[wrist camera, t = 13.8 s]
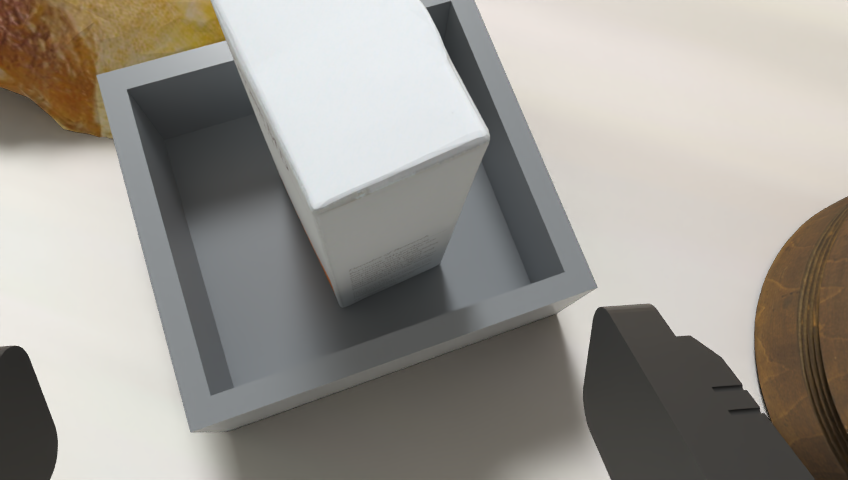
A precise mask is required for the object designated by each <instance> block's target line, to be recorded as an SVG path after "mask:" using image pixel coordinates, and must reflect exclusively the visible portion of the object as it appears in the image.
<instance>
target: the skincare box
mask: <svg viewBox="0 0 848 480" xmlns="http://www.w3.org/2000/svg"><path fill="white" fill-rule="evenodd" d="M210 1H211V3H212V6H213V8H214V11H215V13H216V16H217V19H218V21H219V24H220V26H221V29H222V31H223V34H224V36H225V39H226V41H227V44H228V47H229V49H230V52H231V54H232V57H233V59H234V62H235V64H236V67H237V69H238V72H239V74H240V77H241V79H242V82H243V85H244V87H245V90H246V92H247V95H248V97H249V100H250V102H251V105H252V107H253V110H254V112H255V115H256V117H257V120H258V123H259V125H260V128H261V130H262V133H263V135H264V138H265V140H266V143H267V145H268V148H269V150H270V152H271V155H272V157H273V160H274V162H275V165H276V167H277V170H278V172H279V175H280V177H281V179H282V181H283V184H284V186H285V188H286V190H287V193H288V195H289V197H290V199H291V202H292V204H293V206H294V208H295V210H296V213H297V215H298V217H299V219H300V221H301V223H302V225H303V228H304V230H305V232H306V234H307V236H308V238H309V240H310V243H311V245H312V247H313V249H314V251H315V253H316V255H317V257H318V259H319V262H320V264H321V266H322V268H323V270H324V272H325V274H326V276H327V279H328V281H329V283H330V285H331V287H332V289H333V291H334V294H335V296H336V298H337V300H338V303H339V305H340V307H342V308H343V307H347V306H350V305H352V304H354V303H356V302H358V301H360V300H362V299H364V298H366V297H368V296H371V295H373V294H375V293H377V292H380V291H382V290H384V289H387V288H389V287H391V286H393V285H396V284H398V283H400V282H402V281H405V280H407V279H409V278H411V277H413V276H416V275H418V274H420V273H422V272H424V271H427V270H429V269H431V268H433V267H436V266H437V265H439V264H440V263H441V260H442V258H443V255H444V253H445V250H446V248H447V245H448V243H449V240H450V238H451V235H452V233H453V230H454V228H455V225H456V222H457V220H458V217H459V215H460V213H461V210H462V207H463V204H464V202H465V200H466V197H467V195H468V192H469V190H470V187H471V185H472V182H473V180H474V177H475V175H476V172H477V170H478V168H479V165H480V163H481V161H482V158H483V156H484V154H485V151H486V149H487V147H488V145H489V141H490V134H489V130H488V128H487V126H486V124H485V122H484V121H483V119H482V117H481V115H480V113H479V111H478V109H477V108H476V106H475V104H474V102H473V100H472V98H471V97H470V95H469V93H468V91H467V89H466V87H465V85H464V84H463V82H462V80H461V78H460V76H459V74H458V72H457V71H456V69H455V67H454V65H453V63H452V61H451V59H450V57H449V55H448V53H447V51H446V49H445V46H444V44H443V41H442V39H441V36H440V34H439V32H438V30H437V28H436V26H435V24H434V22H433V20H432V18H431V16H430V14H429V12H428V10H427V9H426V8H425V6H424V5H423V3H422V2H421V1H420V0H210Z"/></svg>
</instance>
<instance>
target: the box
mask: <svg viewBox="0 0 848 480" xmlns="http://www.w3.org/2000/svg"><path fill="white" fill-rule="evenodd" d="M420 1H421V2H422V3H423V5H424V6H425V8H426V9H427V10H428V12H429V14H430V16H431V18H432V20H433V22H434V24H435V26H436V28H437V30H438V32H439V34H440V36H441V39H442V41H443V44H444V46H445V49H446V51H447V53H448V55H449V57H450V59H451V61H452V63H453V65H454V67H455V69H456V71H457V72H458V74H459V76H460V78H461V80H462V82H463V84H464V85H465V87H466V89H467V91H468V93H469V95H470V97H471V98H472V100H473V102H474V104H475V106H476V108H477V109H478V111H479V113H480V115H481V117H482V119H483V121H484V122H485V124H486V126H487V128H488V130H489V134H490V141H489V145H488V147H487V149H486V151H485V154H484V156H483V158H482V161H481V163H480V165H479V168H478V170H477V172H476V175H475V177H474V180H473V182H472V185H471V187H470V190H469V192H468V195H467V197H466V200H465V202H464V204H463V207H462V210H461V213H460V215H459V217H458V220H457V222H456V225H455V228H454V230H453V233H452V235H451V238H450V240H449V243H448V245H447V248H446V250H445V253H444V255H443V258H442V260H441V263H440V264H439V265H437V266H436V267H433V268H431V269H429V270H427V271H424V272H422V273H420V274H418V275H416V276H413V277H411V278H409V279H407V280H405V281H402V282H400V283H398V284H396V285H393V286H391V287H389V288H387V289H384V290H382V291H380V292H377V293H375V294H373V295H371V296H368V297H366V298H364V299H362V300H360V301H358V302H356V303H354V304H352V305H350V306H347V307H343V308H342V307H340V305H339V303H338V300H337V298H336V296H335V294H334V291H333V289H332V287H331V285H330V283H329V281H328V279H327V276H326V274H325V272H324V270H323V268H322V266H321V264H320V262H319V259H318V257H317V255H316V253H315V251H314V249H313V247H312V245H311V243H310V240H309V238H308V236H307V234H306V232H305V230H304V228H303V225H302V223H301V221H300V219H299V217H298V215H297V213H296V210H295V208H294V206H293V204H292V202H291V199H290V197H289V195H288V193H287V190H286V188H285V186H284V184H283V181H282V179H281V177H280V175H279V172H278V170H277V167H276V165H275V162H274V160H273V157H272V155H271V152H270V150H269V148H268V145H267V143H266V140H265V138H264V135H263V133H262V130H261V128H260V125H259V123H258V120H257V117H256V115H255V112H254V110H253V107H252V105H251V102H250V100H249V97H248V95H247V92H246V90H245V87H244V85H243V82H242V79H241V77H240V74H239V72H238V69H237V67H236V64H235V62H234V59H233V57H232V54H231V52H230V49H229V47H228V44H227V41H222V42H218V43H214V44H211V45H207V46H203V47H199V48H196V49H192V50H188V51H184V52H181V53H177V54H173V55H170V56H166V57H162V58H158V59H155V60H151V61H147V62H143V63H140V64H136V65H132V66H129V67H125V68H121V69H117V70H114V71H110V72H106V73H102V74H99V75H96V76H97V79H98V83H99V87H100V91H101V95H102V98H103V102H104V106H105V110H106V114H107V117H108V121H109V125H110V129H111V133H112V136H113V140H114V144H115V148H116V151H117V155H118V159H119V163H120V167H121V170H122V174H123V178H124V182H125V186H126V189H127V193H128V197H129V201H130V205H131V208H132V212H133V216H134V220H135V224H136V227H137V231H138V235H139V239H140V243H141V246H142V250H143V254H144V258H145V262H146V265H147V269H148V273H149V277H150V280H151V284H152V288H153V292H154V296H155V299H156V303H157V307H158V311H159V315H160V318H161V322H162V326H163V330H164V334H165V337H166V341H167V345H168V349H169V353H170V356H171V360H172V364H173V368H174V372H175V375H176V379H177V383H178V387H179V390H180V394H181V398H182V402H183V406H184V409H185V413H186V417H187V421H188V425H189V428H190V432H228V431H231V430H234V429H236V428H239V427H242V426H245V425H248V424H250V423H253V422H256V421H259V420H262V419H264V418H267V417H270V416H273V415H275V414H278V413H281V412H284V411H287V410H289V409H292V408H295V407H298V406H300V405H303V404H306V403H309V402H312V401H314V400H317V399H320V398H323V397H326V396H328V395H331V394H334V393H337V392H339V391H342V390H345V389H348V388H351V387H353V386H356V385H359V384H362V383H365V382H367V381H370V380H373V379H376V378H378V377H381V376H384V375H387V374H390V373H392V372H395V371H398V370H401V369H403V368H406V367H409V366H412V365H415V364H417V363H420V362H423V361H426V360H429V359H431V358H434V357H437V356H440V355H442V354H445V353H448V352H451V351H454V350H456V349H459V348H462V347H465V346H467V345H470V344H473V343H476V342H479V341H481V340H484V339H487V338H490V337H493V336H495V335H498V334H501V333H504V332H506V331H509V330H512V329H515V328H518V327H520V326H523V325H526V324H529V323H531V322H534V321H537V320H540V319H543V318H545V317H548V316H551V315H554V314H557V313H558V312H560V311H561V310H563V309H564V308H566V307H568V306H569V305H571V304H572V303H574V302H575V301H577V300H579V299H580V298H582V297H583V296H585V295H586V294H588V293H590V292H591V291H593V290H594V289H596V288H597V285H596V283H595V280H594V278H593V276H592V273H591V271H590V269H589V266H588V264H587V262H586V259H585V257H584V255H583V252H582V250H581V248H580V245H579V243H578V241H577V238H576V236H575V234H574V231H573V229H572V227H571V224H570V222H569V220H568V217H567V215H566V213H565V210H564V208H563V206H562V203H561V201H560V199H559V196H558V194H557V192H556V189H555V187H554V185H553V182H552V180H551V178H550V175H549V173H548V171H547V168H546V166H545V164H544V161H543V159H542V157H541V155H540V152H539V150H538V148H537V145H536V143H535V141H534V138H533V136H532V134H531V131H530V129H529V127H528V124H527V122H526V120H525V117H524V115H523V113H522V110H521V108H520V106H519V103H518V101H517V99H516V96H515V94H514V92H513V89H512V87H511V85H510V82H509V80H508V78H507V75H506V73H505V71H504V68H503V66H502V64H501V61H500V59H499V57H498V54H497V52H496V50H495V47H494V45H493V43H492V40H491V38H490V36H489V33H488V31H487V29H486V26H485V24H484V22H483V20H482V17H481V15H480V13H479V10H478V8H477V6H476V3H475V1H474V0H420Z"/></svg>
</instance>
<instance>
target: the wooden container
mask: <svg viewBox="0 0 848 480" xmlns="http://www.w3.org/2000/svg"><path fill="white" fill-rule="evenodd" d="M755 356H756V364H757V370H758V377H759V382H760V386H761V390H762V394H763V397H764V401H765V404H766V407H767V410H768V413H769V416H770V418H771V421H772V423H773V425H774V426H775V428H776V429H777V430H778V432H779V433H780V434H781V436H782V437H783V438H784V439H785V441H786V442H787V443H788V445H789V446H790V447H791V449H792V450H793V451H794V452H795V454H796V455H797V456H798V458H799V459H800V460H801V462H802V463H803V464H804V466H805V467H806V468H807V469H808V471H809V472H810V473H811V475H812V476H813V477H814V479H815V480H848V197H846V198H844V199H842V200H840V201H838V202H836V203H834V204H832V205H831V206H829V207H827V208H825V209H823V210H822V211H820V212H819V213H817V214H815V215H814V216H813V217H811V218H810V219H809V220H808V221H806V222H805V223H804V224H803V225H802V226H801V227H800V228H799V229H798V230H797V231H796V232H795V233H794V234H793V235H792V236H791V238H790V239H789V240H788V241H787V242H786V243H785V245H784V246H783V247H782V249H781V250H780V252H779V253H778V255H777V257H776V258H775V260H774V262H773V264H772V265H771V267H770V269H769V271H768V274H767V276H766V278H765V281H764V283H763V286H762V290H761V293H760V297H759V301H758V305H757V310H756V318H755Z"/></svg>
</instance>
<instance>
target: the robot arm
mask: <svg viewBox="0 0 848 480" xmlns="http://www.w3.org/2000/svg"><path fill="white" fill-rule="evenodd" d="M583 402H584V410H585V416H586V420H587V424H588V427H589V430H590V432H591V435H592V437H593V439H594V442H595V444H596V446H597V448H598V451H599V453H600V455H601V458H602V460H603V462H604V464H605V467H606V469H607V471H608V474H609V476H610V478H611V480H815V479H814V477H813V476H812V475H811V473H810V472H809V471H808V469H807V468H806V467H805V466H804V464H803V463H802V462H801V460H800V459H799V458H798V456H797V455H796V454H795V452H794V451H793V450H792V449H791V447H790V446H789V445H788V443H787V442H786V441H785V439H784V438H783V437H782V436H781V434H780V433H779V432H778V430H777V429H776V428H775V426H774V425H773V424H772V422H771V421H770V420H769V419H768V417H767V416H766V415H765V413H762V414H761V412H760V407H759V406H758V404H757V403H756V402H755V400H754V399H753V398H752V396H751V395H750V394H749V393H748V391H747V390H743V388H742V383H741V382H740V381H739V379H738V378H737V377H736V376H735V374H734V373H733V372H732V370H731V369H730V368H729V366H728V365H727V364H726V362H725V361H724V360H723V359H722V357H720V356H719V355H717V354H716V353H714V352H713V351H712V350H710V349H709V348H707V347H706V346H704V345H703V344H702V343H700V342H699V341H697V340H696V339H694V338H693V337H692V336H678V337H676V336H675V335H674V333H673V332H672V330H671V329H670V327H669V326H668V325H667V323H666V322H665V320H664V319H663V318H662V316H661V315H660V313H659V312H658V310H657V309H656V308H655V307H654V306H653V305H651V304H637V305H623V306H608V307H599V308H598V309H597V310H596V312H595V314H594V318H593V323H592V330H591V337H590V344H589V351H588V358H587V365H586V372H585V379H584V387H583ZM57 451H58V439H57V432H56V428H55V425H54V422H53V419H52V417H51V414H50V411H49V409H48V406H47V403H46V401H45V398H44V395H43V393H42V390H41V387H40V385H39V382H38V379H37V377H36V374H35V371H34V369H33V366H32V364H31V361H30V359H29V356H28V354H27V353H26V351H25V350H24V349H23V348H21V347H19V346H3V347H0V480H50V478H51V476H52V473H53V471H54V468H55V464H56V459H57Z"/></svg>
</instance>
